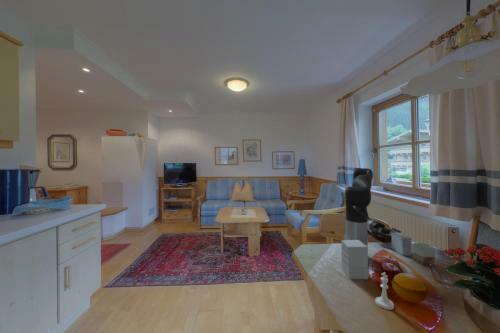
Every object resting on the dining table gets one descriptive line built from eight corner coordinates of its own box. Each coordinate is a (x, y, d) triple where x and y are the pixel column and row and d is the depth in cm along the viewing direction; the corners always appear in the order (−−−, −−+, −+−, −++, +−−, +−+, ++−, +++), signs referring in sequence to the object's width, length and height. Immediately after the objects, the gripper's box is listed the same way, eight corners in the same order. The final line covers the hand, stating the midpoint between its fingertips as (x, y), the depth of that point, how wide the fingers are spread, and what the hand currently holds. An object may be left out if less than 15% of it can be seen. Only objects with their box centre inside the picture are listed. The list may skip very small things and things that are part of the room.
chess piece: (387, 311, 60) (387, 278, 60) (371, 301, 64) (371, 270, 64) (397, 306, 62) (397, 274, 62) (381, 297, 66) (381, 267, 66)
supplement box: (359, 269, 84) (359, 239, 83) (368, 280, 76) (368, 247, 76) (341, 269, 84) (341, 239, 84) (348, 279, 77) (348, 246, 76)
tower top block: (423, 257, 86) (423, 247, 86) (413, 251, 91) (413, 243, 91) (434, 257, 86) (434, 247, 86) (424, 251, 91) (424, 243, 91)
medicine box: (412, 256, 95) (412, 238, 95) (402, 256, 96) (402, 238, 95) (399, 249, 103) (399, 232, 103) (391, 249, 103) (391, 232, 103)
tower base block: (423, 266, 86) (423, 257, 86) (413, 260, 91) (413, 251, 91) (434, 266, 86) (434, 257, 86) (424, 260, 91) (424, 251, 91)
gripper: (363, 220, 121) (380, 229, 104) (387, 220, 120) (407, 229, 104) (363, 233, 121) (380, 243, 104) (387, 233, 120) (407, 243, 104)
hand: (393, 236), depth 104 cm, fingers open, 8 cm apart
